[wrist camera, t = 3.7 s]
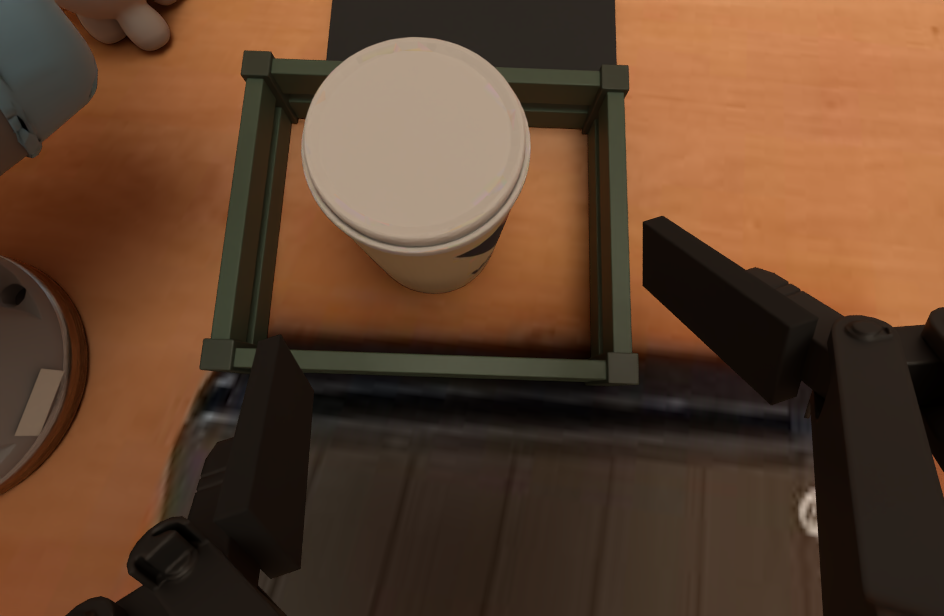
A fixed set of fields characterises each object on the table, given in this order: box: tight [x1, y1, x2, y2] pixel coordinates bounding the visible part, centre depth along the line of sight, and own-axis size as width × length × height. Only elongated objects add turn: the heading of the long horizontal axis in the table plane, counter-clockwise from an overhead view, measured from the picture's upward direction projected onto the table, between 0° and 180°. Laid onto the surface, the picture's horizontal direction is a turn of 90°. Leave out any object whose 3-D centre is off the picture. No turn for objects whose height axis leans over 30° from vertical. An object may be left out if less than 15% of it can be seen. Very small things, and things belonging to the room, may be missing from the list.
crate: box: [200, 51, 639, 386], centre depth 28 cm, size 22×18×5 cm
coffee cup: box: [301, 37, 531, 293], centre depth 24 cm, size 9×9×12 cm
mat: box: [326, 0, 617, 71], centre depth 33 cm, size 20×12×1 cm, turn 88°
